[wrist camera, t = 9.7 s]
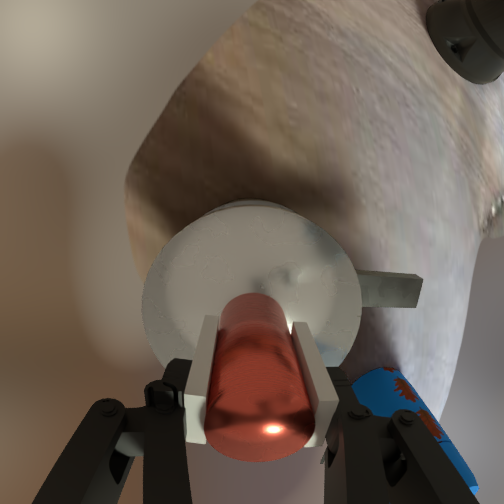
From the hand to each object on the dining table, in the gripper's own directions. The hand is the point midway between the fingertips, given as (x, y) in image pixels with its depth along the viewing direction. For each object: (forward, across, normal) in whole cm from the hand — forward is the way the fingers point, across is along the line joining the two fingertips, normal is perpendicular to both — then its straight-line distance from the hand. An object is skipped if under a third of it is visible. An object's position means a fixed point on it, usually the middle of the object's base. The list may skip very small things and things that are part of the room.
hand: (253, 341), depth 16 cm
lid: (+4, 0, 0) cm, 4 cm away
